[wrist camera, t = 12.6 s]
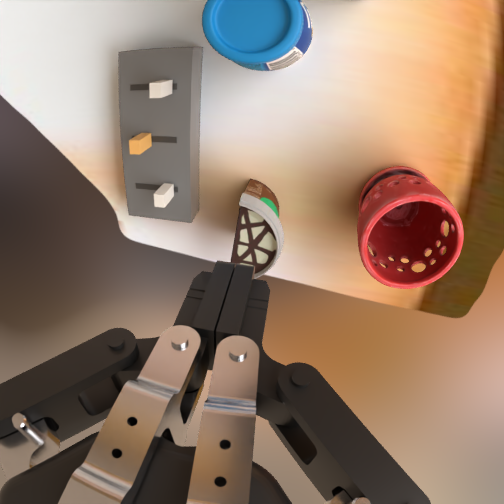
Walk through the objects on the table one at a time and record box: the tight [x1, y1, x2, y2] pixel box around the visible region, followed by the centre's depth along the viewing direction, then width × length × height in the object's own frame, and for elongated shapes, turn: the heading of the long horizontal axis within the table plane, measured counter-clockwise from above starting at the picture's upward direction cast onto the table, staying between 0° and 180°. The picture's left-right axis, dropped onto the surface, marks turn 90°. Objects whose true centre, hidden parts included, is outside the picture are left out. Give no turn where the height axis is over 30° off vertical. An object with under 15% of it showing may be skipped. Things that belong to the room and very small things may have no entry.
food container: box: [231, 179, 284, 279], centre depth 43 cm, size 12×6×10 cm, turn 170°
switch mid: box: [129, 133, 152, 155], centre depth 37 cm, size 2×1×4 cm
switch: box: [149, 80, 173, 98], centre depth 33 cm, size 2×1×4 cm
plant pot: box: [357, 166, 464, 289], centre depth 38 cm, size 13×13×12 cm
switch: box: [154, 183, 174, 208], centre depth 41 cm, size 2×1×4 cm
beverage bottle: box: [202, 0, 313, 71], centre depth 25 cm, size 8×8×20 cm
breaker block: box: [119, 47, 203, 223], centre depth 40 cm, size 24×10×4 cm, turn 176°
